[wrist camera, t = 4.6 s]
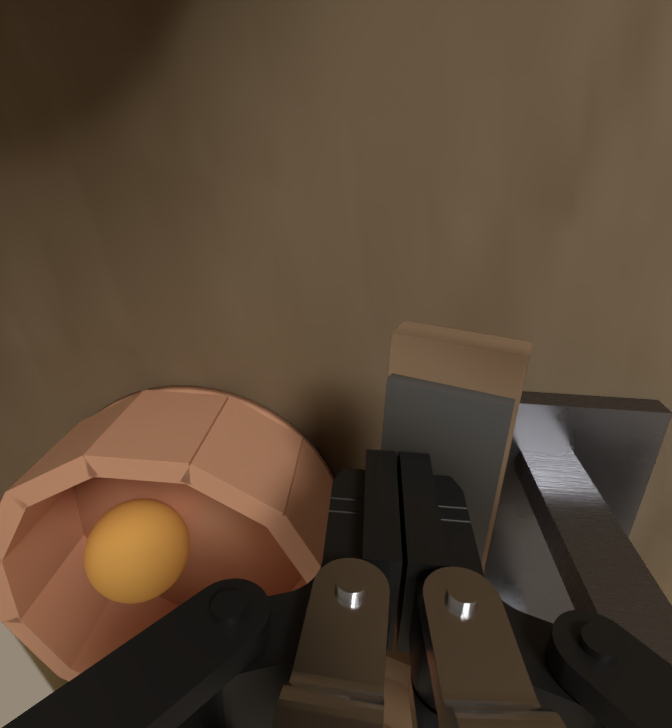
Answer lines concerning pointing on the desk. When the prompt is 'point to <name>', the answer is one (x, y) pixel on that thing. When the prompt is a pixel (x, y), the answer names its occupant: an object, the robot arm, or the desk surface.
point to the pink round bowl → (173, 487)
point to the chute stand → (580, 513)
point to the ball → (136, 551)
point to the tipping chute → (451, 434)
